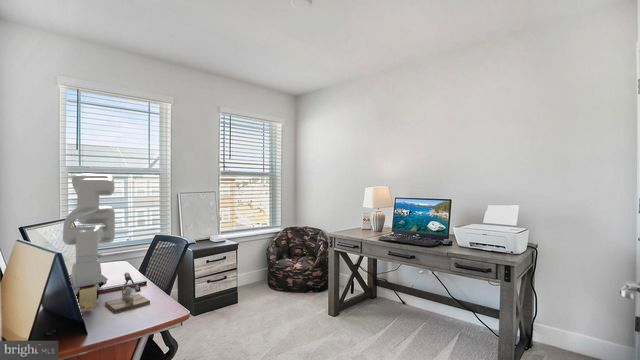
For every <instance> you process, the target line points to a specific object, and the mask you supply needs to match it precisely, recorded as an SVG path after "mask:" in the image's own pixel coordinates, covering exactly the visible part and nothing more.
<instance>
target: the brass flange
mask: <svg viewBox="0 0 640 360" xmlns="http://www.w3.org/2000/svg"><path fill="white" fill-rule="evenodd" d="M78 295H79V299H78V303H79V306H80V309H79V310H83V309H84V311H89V310H93V309H95V307H96V306H97V300H98V298H97V286H95V285H89V286H84V287H80V288H79V291H78Z"/></svg>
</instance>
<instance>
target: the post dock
mask: <svg viewBox="0 0 640 360" xmlns="http://www.w3.org/2000/svg"><path fill="white" fill-rule="evenodd" d="M124 290H125V291H123V293H122V296H121V298H116V299H112V300H107V301H105V304H104V305H105V306H106V307H107V308H108V309H109V310H110V311H112V313H114V314H118V313H121V312H125V311H129V310H132V309H136V308H140V307H143V306H147V305H150V304H151V300H150V299H148V298H147V297H145V296H143V295H142V294H140V293H138V294H134V295H132V293H131V292H132V291H131V287H125V289H124Z"/></svg>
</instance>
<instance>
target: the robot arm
mask: <svg viewBox="0 0 640 360" xmlns="http://www.w3.org/2000/svg"><path fill="white" fill-rule="evenodd" d="M71 183H72V184H71V185H72V187H73V189H74V192H75V193H76V197H77V198H76V199H77V200H76V207H75V208H74V209H72V211H70V212H69V213H68V215H67V216H66V217H65V219H64V221H63V225H62V227H63V230H62V242H63V243H64V244H65V245H68V246H75V262H73V263H72V264H73V265H72V267H71V275H70V280H71V282H72V284H73V285H72V286H74V289H75V292H76V296H77V299H79V295H78V291H79V288H80V287H84V286H89V285H95V286H97V297H98V298H99V296H100V289H101V288H102V287H103V286H104V285H103V284H104V283H105V282H106V281H108V280H109V279H108V278H107V277H106V276H104V275H103V274H102V265H101V261H100V258H102V257H103V254H102V253H99V245H106V244H112V243H113V242H114V241H115V237H116V235H115V232H116V231H115V229H116V225H115V224H116V222H115V221H116V214H115V210H114V208H113V206H109V205H103V206H102V205H100V197H101V196H103V197H104V196H105V197H107V196H108V197H109V196H112V195H113V194H114V193H115V180H114V177H113V176H112V175H111V174H97V173H79V174H74V175H73V176H72V178H71ZM76 220H78V222H79V224H81V225H87V226H73V227H72V225H73V223H74V222H75V221H76ZM89 225H90V226H89ZM91 225H94V226H91ZM95 225H103V226H95ZM101 278H102V279H103V280H102V281H101ZM98 283H99V284H98Z"/></svg>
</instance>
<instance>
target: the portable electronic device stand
mask: <svg viewBox="0 0 640 360" xmlns="http://www.w3.org/2000/svg"><path fill="white" fill-rule="evenodd" d="M123 276H124V280H125V282H124V284H123V286H122V289H121V293H122V294H123V292H125V291H124V290H125V288H127V285H128V282H129V281H130V283H131V284H132V286H133V288H134V289H135V291H136V293H137V292H140V291H141V286H140V283H139V282H137V284H135V282H134V280H133V278H132V277H131V274H130V273H129V272H125V273H124V275H123Z"/></svg>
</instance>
